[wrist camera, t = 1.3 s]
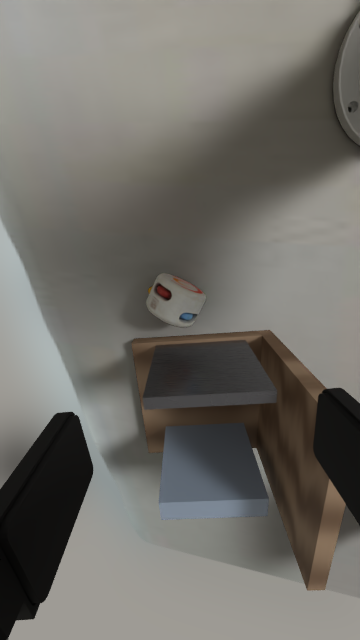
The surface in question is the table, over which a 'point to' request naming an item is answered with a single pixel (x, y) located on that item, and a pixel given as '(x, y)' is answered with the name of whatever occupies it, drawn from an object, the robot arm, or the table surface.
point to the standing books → (210, 473)
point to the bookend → (206, 376)
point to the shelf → (268, 443)
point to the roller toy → (175, 300)
